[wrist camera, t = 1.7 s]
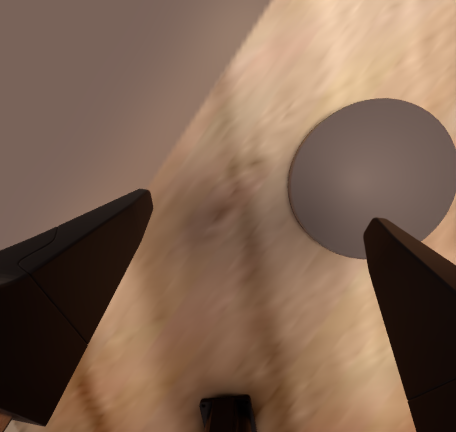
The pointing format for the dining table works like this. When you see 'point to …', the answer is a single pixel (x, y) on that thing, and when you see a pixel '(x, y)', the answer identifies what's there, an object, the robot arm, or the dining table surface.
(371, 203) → the grey-brown round disc
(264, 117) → the dining table surface
